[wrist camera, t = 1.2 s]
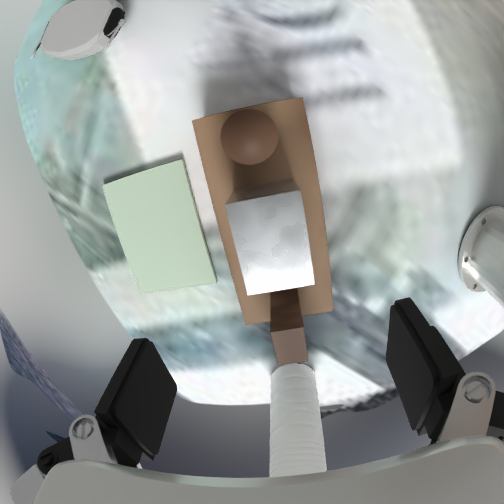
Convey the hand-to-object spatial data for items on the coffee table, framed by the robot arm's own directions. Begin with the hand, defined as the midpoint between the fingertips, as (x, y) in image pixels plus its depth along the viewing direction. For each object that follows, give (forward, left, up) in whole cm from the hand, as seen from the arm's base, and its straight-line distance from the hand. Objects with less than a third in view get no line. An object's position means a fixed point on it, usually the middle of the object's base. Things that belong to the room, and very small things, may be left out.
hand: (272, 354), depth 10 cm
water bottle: (0, +24, -20) cm, 31 cm away
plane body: (0, 0, -20) cm, 20 cm away
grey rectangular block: (0, 0, -15) cm, 15 cm away
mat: (+12, 0, -20) cm, 24 cm away
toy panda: (+14, -30, -21) cm, 39 cm away
